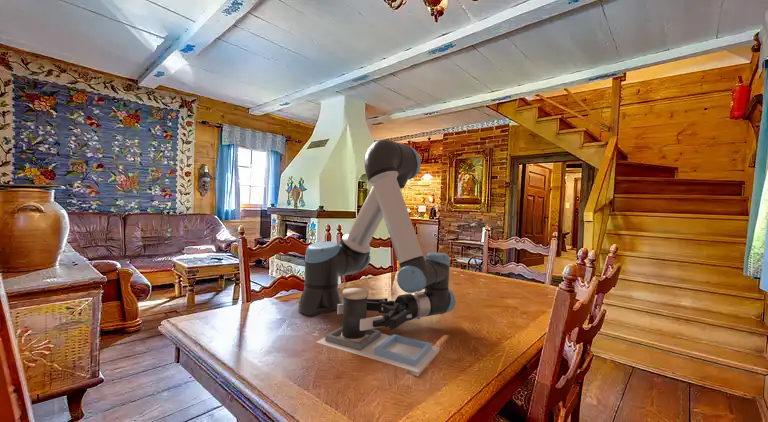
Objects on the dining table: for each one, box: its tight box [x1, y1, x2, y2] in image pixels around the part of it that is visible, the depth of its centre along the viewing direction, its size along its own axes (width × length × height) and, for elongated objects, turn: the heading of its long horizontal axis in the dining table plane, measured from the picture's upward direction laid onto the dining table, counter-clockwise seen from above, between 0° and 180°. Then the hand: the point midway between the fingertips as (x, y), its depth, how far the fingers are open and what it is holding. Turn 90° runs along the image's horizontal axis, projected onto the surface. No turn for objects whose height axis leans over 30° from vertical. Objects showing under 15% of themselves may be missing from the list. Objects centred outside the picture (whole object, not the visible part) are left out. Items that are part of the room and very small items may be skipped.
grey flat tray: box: [315, 326, 441, 377], centre depth 89 cm, size 29×15×2 cm, turn 62°
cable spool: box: [341, 287, 369, 342], centre depth 92 cm, size 7×7×13 cm
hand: (348, 316), depth 91 cm, fingers open, 13 cm apart
